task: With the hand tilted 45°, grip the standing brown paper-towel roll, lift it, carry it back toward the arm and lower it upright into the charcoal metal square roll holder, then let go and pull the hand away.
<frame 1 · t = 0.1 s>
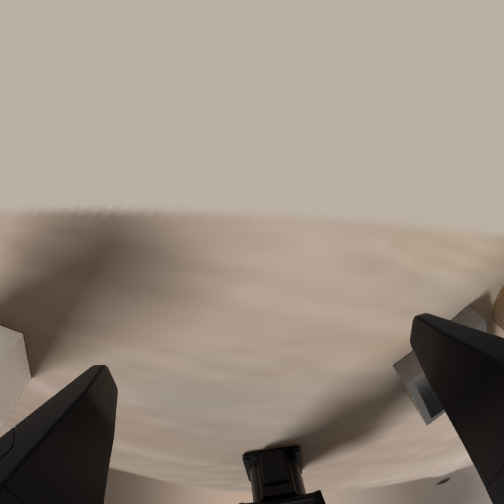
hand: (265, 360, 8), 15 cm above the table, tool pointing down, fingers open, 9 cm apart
milk: (6, 347, 24), on the table
holder: (442, 362, 29), on the table
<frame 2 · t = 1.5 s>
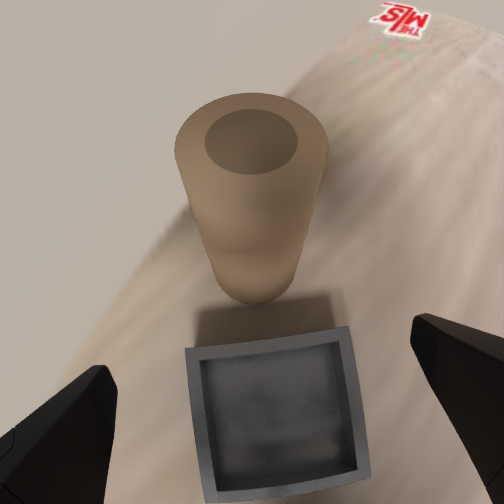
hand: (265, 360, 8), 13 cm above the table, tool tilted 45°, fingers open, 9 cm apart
holder: (276, 416, 19), on the table
roll: (254, 264, 24), on the table
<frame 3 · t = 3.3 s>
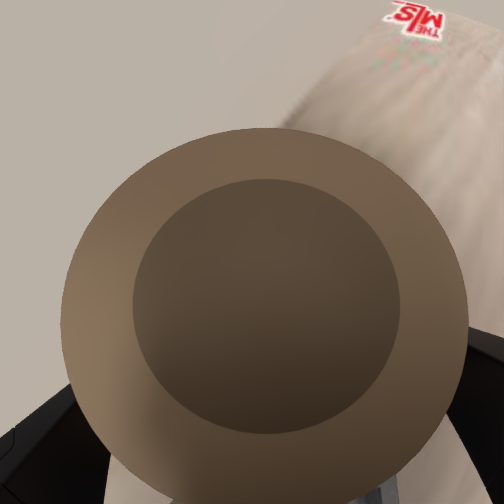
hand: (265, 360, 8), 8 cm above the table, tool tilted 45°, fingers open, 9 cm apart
roll: (261, 372, 16), on the table
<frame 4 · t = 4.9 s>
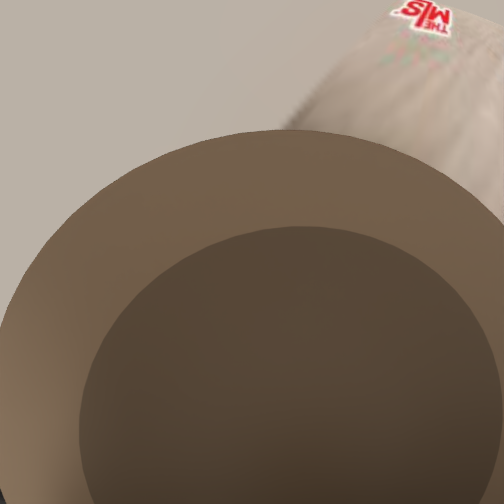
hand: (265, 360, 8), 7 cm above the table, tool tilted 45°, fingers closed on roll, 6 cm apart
roll: (267, 403, 14), on the table, touching gripper
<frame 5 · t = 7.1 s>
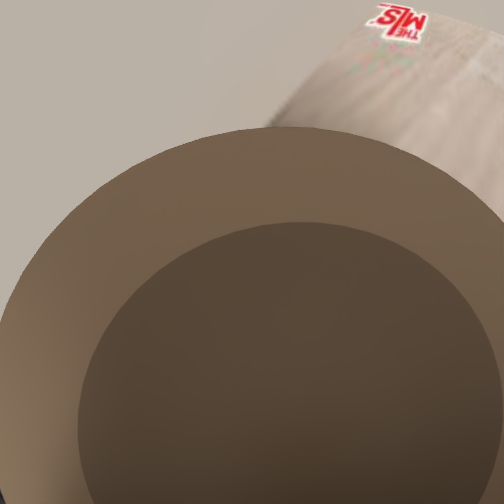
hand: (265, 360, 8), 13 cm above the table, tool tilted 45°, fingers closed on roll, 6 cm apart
roll: (267, 402, 14), point 6 cm above the table, touching gripper
when the fingers open (8 cm above the table, at t = 9.6 s): roll drops 1 cm, resting on holder.
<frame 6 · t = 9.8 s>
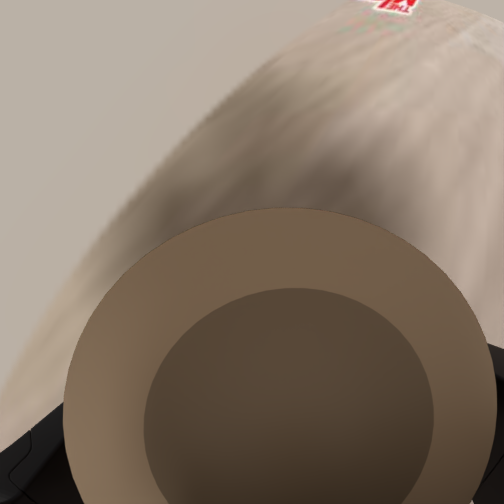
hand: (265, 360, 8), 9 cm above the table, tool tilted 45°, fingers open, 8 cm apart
roll: (266, 404, 15), point 1 cm above the table, touching holder
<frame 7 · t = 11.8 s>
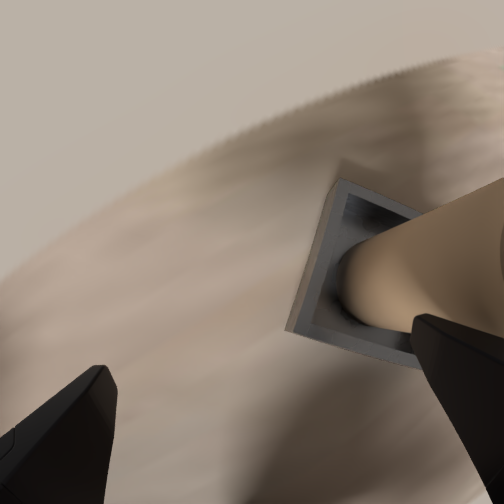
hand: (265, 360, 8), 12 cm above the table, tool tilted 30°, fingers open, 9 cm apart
holder: (372, 282, 21), on the table
roll: (376, 282, 21), point 1 cm above the table, touching holder
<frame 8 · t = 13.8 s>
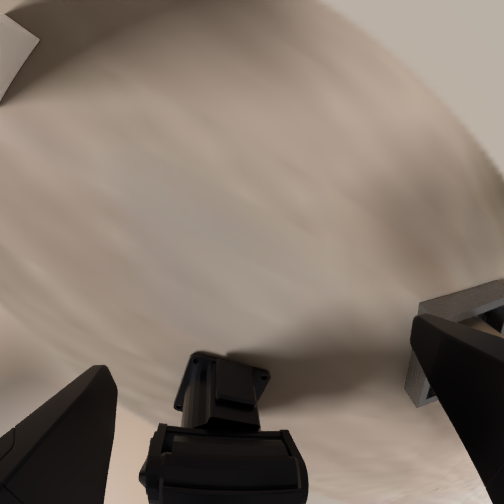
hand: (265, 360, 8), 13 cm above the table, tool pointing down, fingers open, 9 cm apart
holder: (453, 336, 26), on the table
roll: (456, 339, 25), point 1 cm above the table, touching holder
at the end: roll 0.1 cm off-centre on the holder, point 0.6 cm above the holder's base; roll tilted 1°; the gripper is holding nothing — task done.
